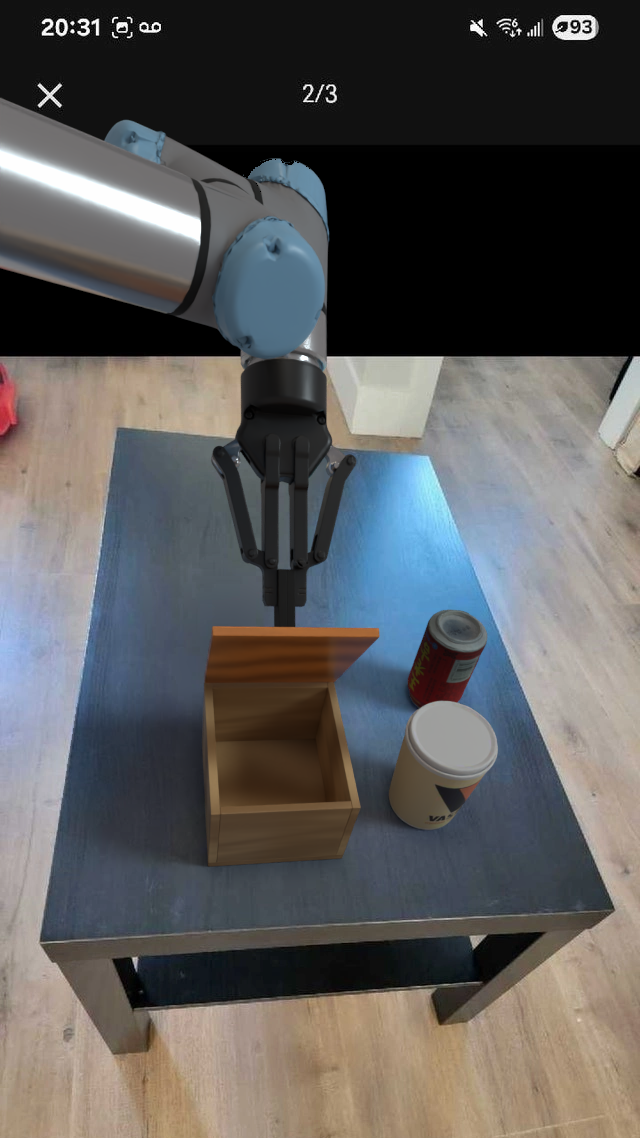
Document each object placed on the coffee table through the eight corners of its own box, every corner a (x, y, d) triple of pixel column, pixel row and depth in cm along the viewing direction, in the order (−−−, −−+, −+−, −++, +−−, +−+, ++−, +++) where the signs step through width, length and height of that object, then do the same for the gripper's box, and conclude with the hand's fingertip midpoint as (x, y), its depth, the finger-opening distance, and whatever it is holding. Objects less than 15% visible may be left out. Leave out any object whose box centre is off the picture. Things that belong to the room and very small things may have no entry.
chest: (342, 858, 70) (361, 807, 63) (207, 867, 67) (210, 814, 60) (320, 737, 80) (334, 681, 72) (201, 740, 77) (204, 682, 70)
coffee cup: (424, 853, 72) (458, 789, 63) (363, 792, 76) (388, 724, 67) (479, 808, 77) (519, 743, 68) (420, 753, 81) (450, 684, 72)
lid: (379, 637, 56) (379, 627, 56) (212, 635, 53) (212, 626, 53) (335, 682, 72) (334, 674, 72) (204, 683, 69) (204, 675, 69)
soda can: (469, 704, 87) (502, 635, 78) (428, 725, 84) (457, 655, 74) (433, 668, 90) (461, 597, 81) (392, 687, 87) (416, 615, 78)
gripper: (345, 393, 65) (344, 644, 67) (205, 381, 62) (209, 643, 64) (367, 361, 57) (365, 643, 60) (210, 346, 55) (214, 643, 57)
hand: (284, 643), depth 62 cm, fingers closed
